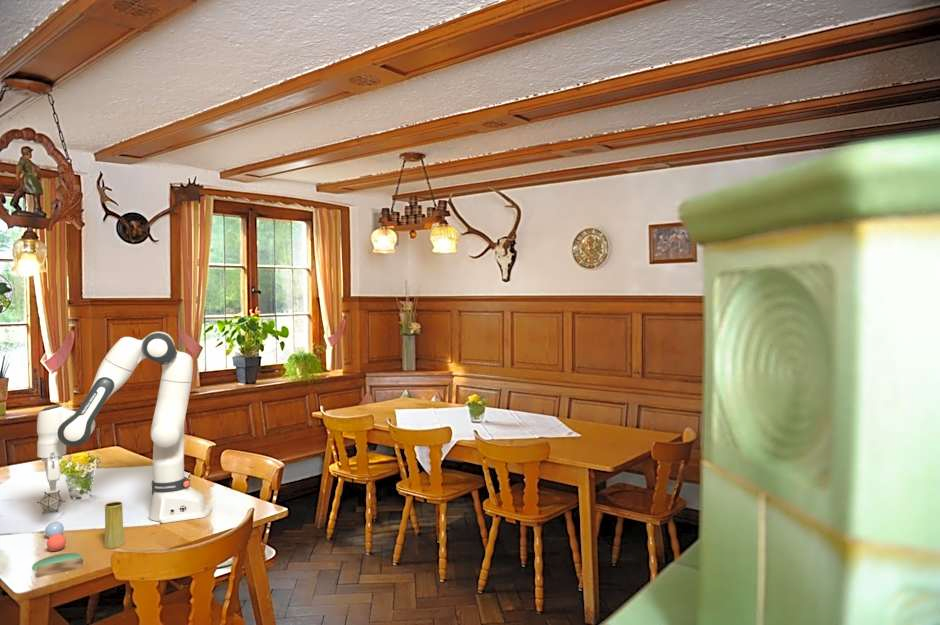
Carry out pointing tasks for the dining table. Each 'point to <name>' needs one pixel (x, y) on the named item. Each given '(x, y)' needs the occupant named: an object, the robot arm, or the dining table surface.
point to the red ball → (56, 542)
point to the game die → (51, 501)
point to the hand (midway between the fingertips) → (52, 488)
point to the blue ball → (54, 529)
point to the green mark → (56, 559)
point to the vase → (113, 525)
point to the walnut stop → (59, 567)
